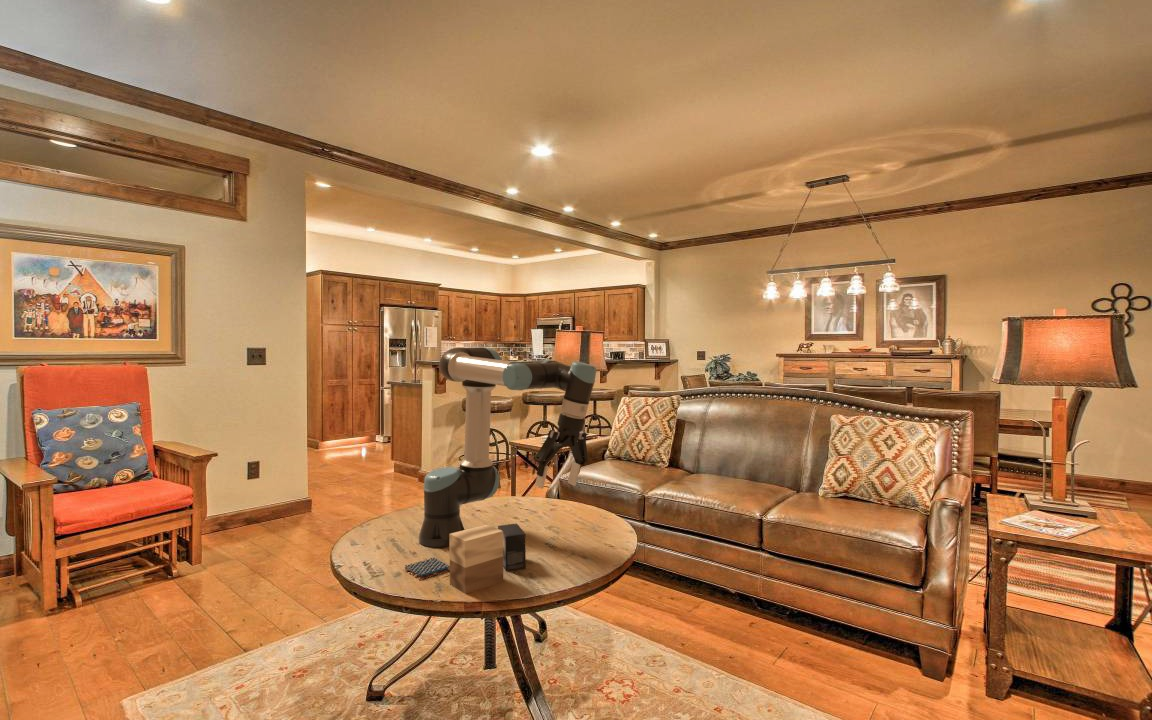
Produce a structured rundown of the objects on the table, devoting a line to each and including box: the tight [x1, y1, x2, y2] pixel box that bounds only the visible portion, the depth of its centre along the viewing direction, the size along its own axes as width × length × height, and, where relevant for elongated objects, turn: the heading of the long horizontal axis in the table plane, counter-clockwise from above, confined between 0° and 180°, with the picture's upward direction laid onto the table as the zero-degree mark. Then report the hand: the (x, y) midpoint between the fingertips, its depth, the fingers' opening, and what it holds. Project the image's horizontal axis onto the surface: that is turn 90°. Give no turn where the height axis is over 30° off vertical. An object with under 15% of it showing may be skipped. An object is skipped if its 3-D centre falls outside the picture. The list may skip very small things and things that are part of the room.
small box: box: [497, 523, 527, 572], centre depth 167 cm, size 11×6×10 cm, turn 21°
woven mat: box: [404, 557, 450, 581], centre depth 162 cm, size 10×11×2 cm
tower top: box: [448, 524, 503, 568], centre depth 153 cm, size 8×12×7 cm, turn 132°
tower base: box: [449, 557, 504, 595], centre depth 153 cm, size 8×12×7 cm, turn 132°
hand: (555, 485), depth 163 cm, fingers open, 13 cm apart
